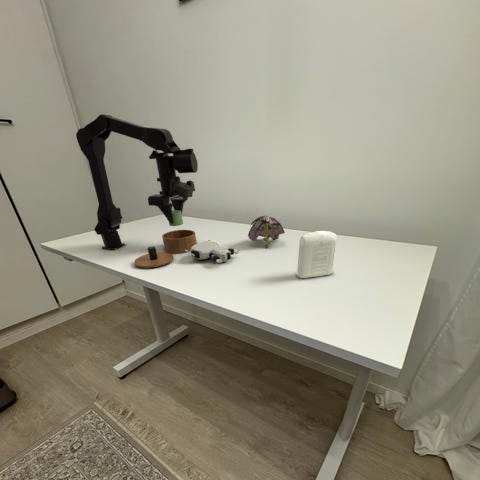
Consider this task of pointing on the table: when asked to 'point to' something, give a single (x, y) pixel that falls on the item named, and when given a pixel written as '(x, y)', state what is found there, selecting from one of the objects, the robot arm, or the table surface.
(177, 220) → the candle
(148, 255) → the wooden lid
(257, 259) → the table surface
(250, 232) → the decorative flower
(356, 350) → the table surface
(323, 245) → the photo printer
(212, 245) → the robot toy
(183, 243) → the brown shallow round container
